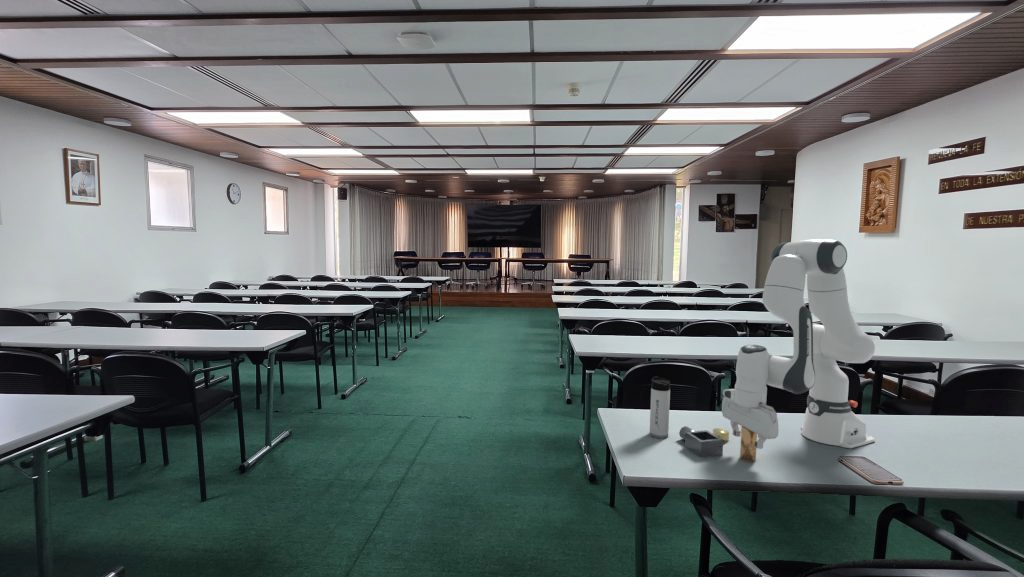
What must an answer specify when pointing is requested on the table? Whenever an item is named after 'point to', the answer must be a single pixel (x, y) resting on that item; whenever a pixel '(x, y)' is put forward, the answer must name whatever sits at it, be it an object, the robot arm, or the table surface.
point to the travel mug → (659, 407)
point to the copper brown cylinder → (748, 445)
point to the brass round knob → (721, 434)
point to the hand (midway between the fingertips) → (747, 441)
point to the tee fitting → (702, 442)
